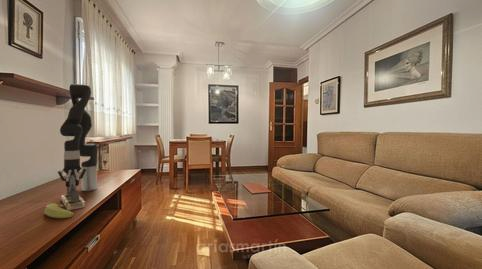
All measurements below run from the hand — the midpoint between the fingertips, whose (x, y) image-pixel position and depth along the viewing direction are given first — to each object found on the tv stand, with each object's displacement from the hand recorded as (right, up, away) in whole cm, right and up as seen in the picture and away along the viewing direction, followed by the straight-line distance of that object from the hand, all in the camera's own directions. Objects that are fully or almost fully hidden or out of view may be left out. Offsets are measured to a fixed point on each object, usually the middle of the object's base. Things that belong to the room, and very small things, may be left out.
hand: (72, 186), depth 130 cm
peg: (0, -3, 0) cm, 3 cm away
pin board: (0, -10, +1) cm, 10 cm away
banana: (+4, -11, -13) cm, 18 cm away
